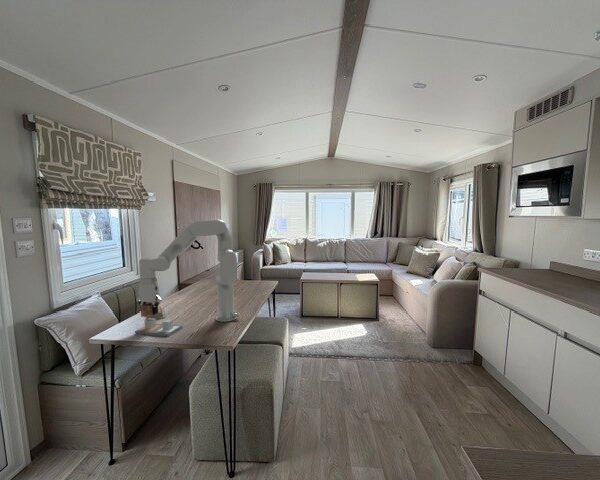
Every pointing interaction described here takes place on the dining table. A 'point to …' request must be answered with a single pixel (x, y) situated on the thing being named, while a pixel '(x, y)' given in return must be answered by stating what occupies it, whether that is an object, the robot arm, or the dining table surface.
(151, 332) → the pin board
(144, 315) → the sleeve
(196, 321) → the dining table surface
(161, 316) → the packaged product
